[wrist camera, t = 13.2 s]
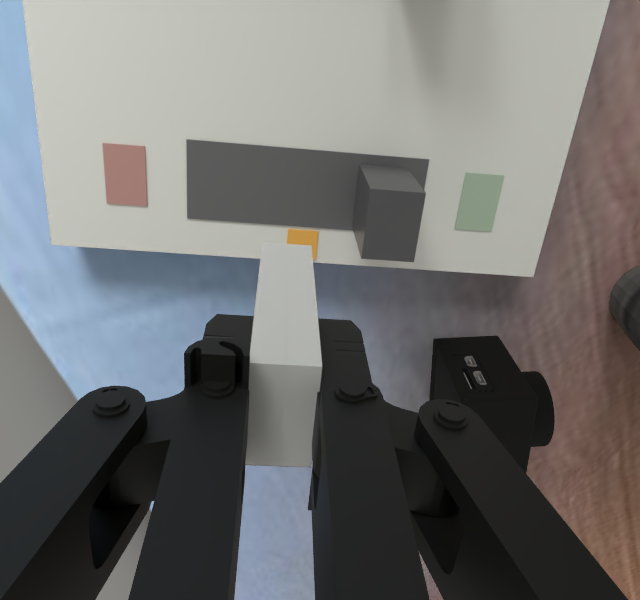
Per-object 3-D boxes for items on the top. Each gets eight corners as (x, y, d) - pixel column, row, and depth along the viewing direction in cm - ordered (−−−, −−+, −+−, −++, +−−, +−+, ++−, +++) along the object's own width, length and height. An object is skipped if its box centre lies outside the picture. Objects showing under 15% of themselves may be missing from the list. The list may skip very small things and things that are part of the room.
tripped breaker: (359, 164, 28) (370, 188, 25) (407, 168, 29) (425, 193, 25) (351, 226, 30) (361, 258, 26) (397, 229, 30) (413, 262, 26)
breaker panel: (24, -231, 24) (-11, -263, 21) (620, -154, 26) (658, -173, 23) (71, 225, 33) (50, 245, 30) (514, 256, 35) (533, 277, 32)
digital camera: (499, 457, 42) (535, 535, 36) (425, 462, 42) (448, 540, 36) (516, 333, 38) (562, 397, 31) (433, 337, 37) (462, 402, 31)
